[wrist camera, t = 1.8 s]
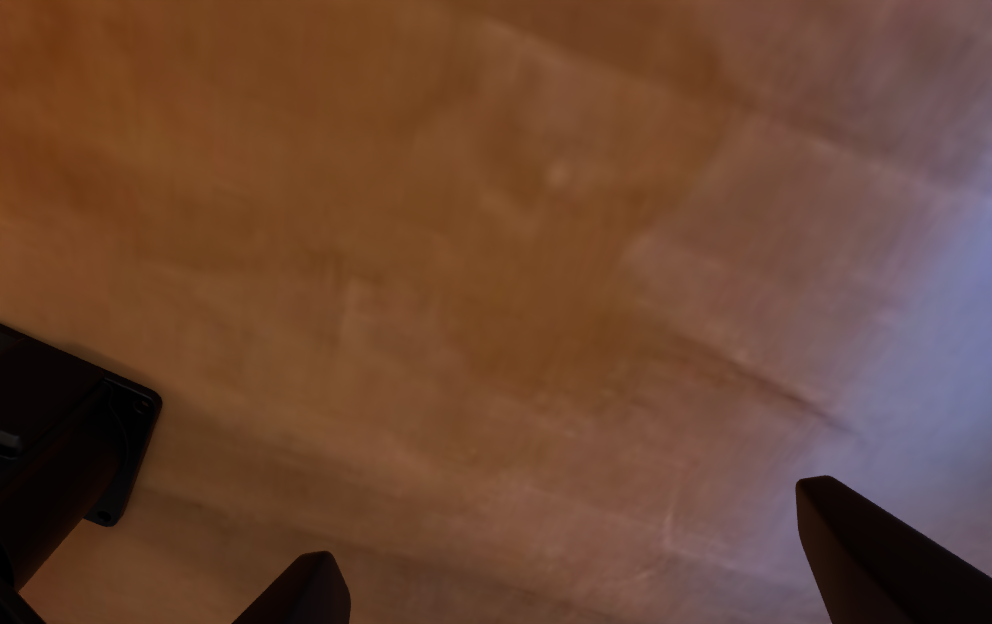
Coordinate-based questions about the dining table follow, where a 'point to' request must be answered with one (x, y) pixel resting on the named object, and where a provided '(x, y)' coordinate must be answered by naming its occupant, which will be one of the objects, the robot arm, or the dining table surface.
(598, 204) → the dining table surface
